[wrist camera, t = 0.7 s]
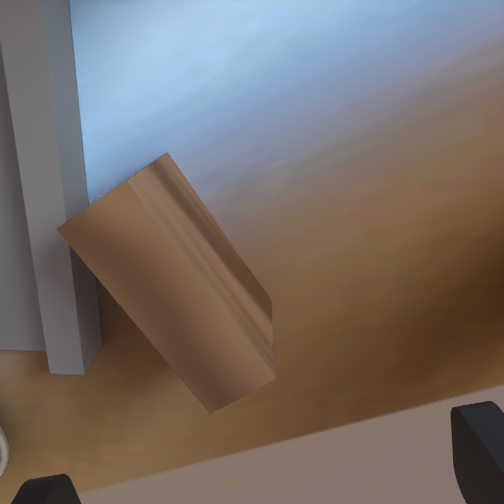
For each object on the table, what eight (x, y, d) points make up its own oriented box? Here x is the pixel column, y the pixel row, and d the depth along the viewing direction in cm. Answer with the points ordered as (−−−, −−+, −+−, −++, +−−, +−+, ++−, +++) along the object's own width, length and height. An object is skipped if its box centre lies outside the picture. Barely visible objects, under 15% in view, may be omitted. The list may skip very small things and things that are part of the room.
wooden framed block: (167, 151, 27) (126, 180, 19) (270, 299, 31) (275, 379, 22) (115, 188, 28) (52, 231, 20) (221, 327, 31) (207, 415, 23)
